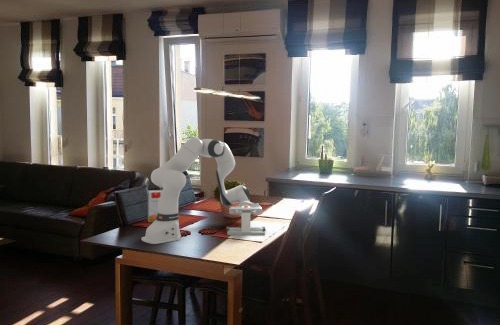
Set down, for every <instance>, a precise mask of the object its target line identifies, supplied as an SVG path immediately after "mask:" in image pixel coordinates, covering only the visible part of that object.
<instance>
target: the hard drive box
mask: <svg viewBox="0 0 500 325" xmlns="http://www.w3.org/2000/svg"><path fill="white" fill-rule="evenodd" d="M162 193H163V189H161V190H159V189H158V190H154V189H153V190H150V189H149V190H147V222H148V223H153V222H154V221H155V220H156V218H153V216H152V215H153V214H156V215H157V214H158V200H159V198H160V197H161V196H162Z"/></svg>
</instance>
